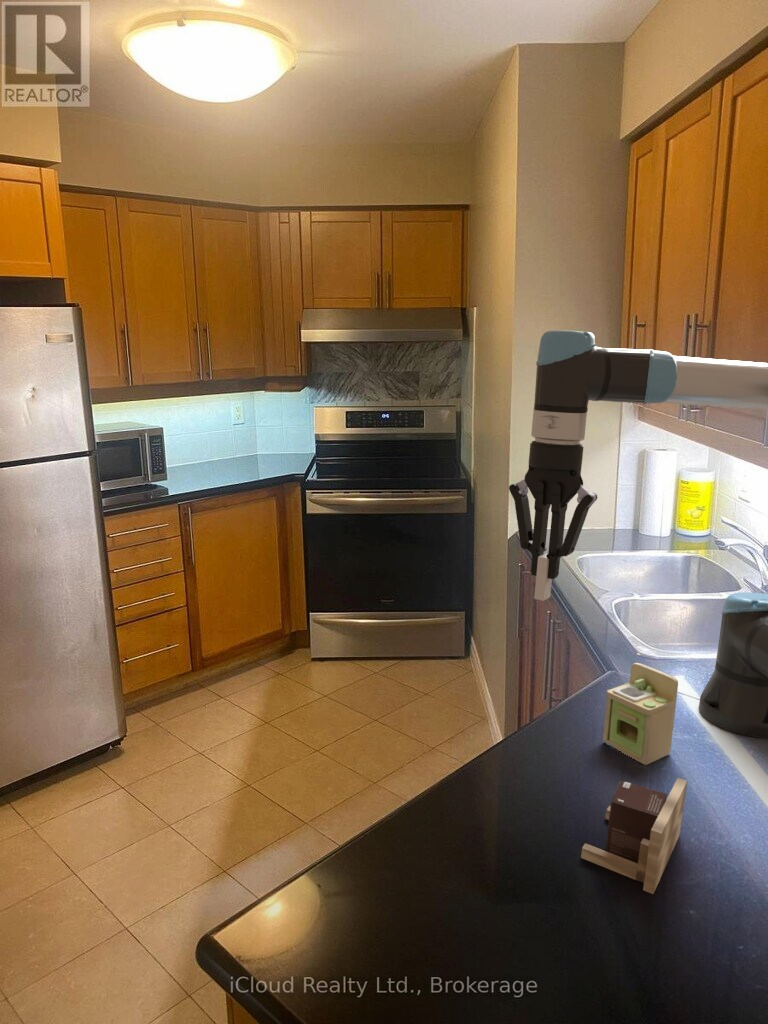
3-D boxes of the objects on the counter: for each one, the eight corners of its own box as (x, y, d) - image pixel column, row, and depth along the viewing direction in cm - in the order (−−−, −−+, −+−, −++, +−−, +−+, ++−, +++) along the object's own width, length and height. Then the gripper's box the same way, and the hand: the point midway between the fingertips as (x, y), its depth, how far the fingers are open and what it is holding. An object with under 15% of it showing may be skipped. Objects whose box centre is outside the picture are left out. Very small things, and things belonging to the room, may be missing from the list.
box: (653, 870, 92) (660, 816, 91) (603, 853, 95) (610, 801, 94) (661, 844, 98) (668, 793, 96) (614, 828, 101) (620, 779, 99)
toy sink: (598, 743, 123) (607, 669, 121) (626, 732, 127) (634, 660, 125) (643, 767, 116) (653, 689, 114) (670, 754, 121) (680, 679, 118)
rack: (610, 810, 104) (617, 758, 103) (679, 835, 100) (687, 780, 98) (577, 863, 93) (584, 805, 91) (653, 894, 88) (661, 833, 86)
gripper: (504, 438, 108) (492, 594, 112) (593, 447, 101) (576, 613, 106) (524, 435, 114) (512, 583, 119) (609, 443, 107) (592, 601, 112)
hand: (542, 597), depth 112 cm, fingers closed
